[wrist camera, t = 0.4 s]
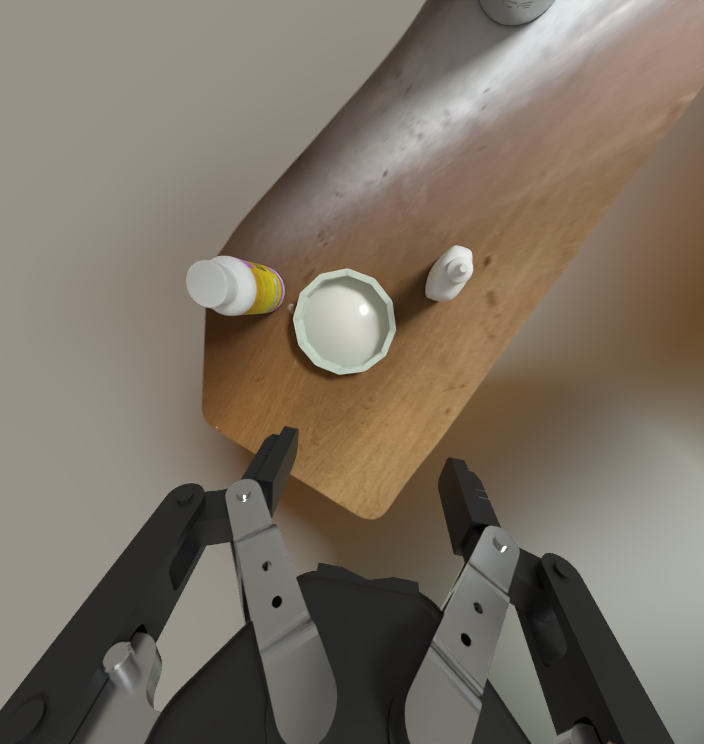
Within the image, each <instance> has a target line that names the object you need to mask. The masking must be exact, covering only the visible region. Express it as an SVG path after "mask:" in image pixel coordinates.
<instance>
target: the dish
mask: <svg viewBox="0 0 704 744" xmlns="http://www.w3.org/2000/svg"><path fill="white" fill-rule="evenodd" d="M293 322H294V327H295V331H296V336H297V340H298V345H299V346H300V348H301V349H302V350H303V351H304V352H305V353H306V355H307V356H308V357H309V358H310V359H311V361H312V362H313V363H314V364H315V365H316V366H319V367H321V368H324V369H326V370H329V371H331V372H334V373H336V374H339V375H341V374H349V373H357V372H364V371H366V370H367V369H369V368H370V367H371V366H373V365H374V364H375V363H376V362H378V361H379V360H380V359H382V358H383V357H384V356H386V353H387V351H388V349H389V346H390V344H391V341H392V339H393V337H394V334H395V332H396V325H395V317H394V309H393V302H392V300H391V299H390V298H389V296H388V295H387V294H386V293H385V291H384V290H383V289H382V287H381V286H380V285H379V284H378V282H377V281H376V280H375V279H374V278H372V277H369V276H366V275H364V274H361V273H359V272H356V271H353V270H351V269H348V268H347V269H343V270H338V271H333V272H328V273H323V274H320V275H319V276H318V277H317V278H316V279H315V280H314V281H313V282H311V283H310V284H309V285H308V286H307V287H306V288H305V289H304V290H303V291H302V292H301V293H300V296H299V300H298V303H297V307H296V310H295V313H294V317H293Z"/></svg>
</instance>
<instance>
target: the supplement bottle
mask: <svg viewBox="0 0 704 744" xmlns="http://www.w3.org/2000/svg"><path fill="white" fill-rule="evenodd" d="M186 285H187V289H188V292H189V294H190V296H191V297H192V298H193V300H194V301H195V302H196V303H198V304H199V305H201V306H203V307H207V308H212V309H213V310H215V311H216V312H218V313H220V314H223V315H227V316H236V315H247V314H261V313H269V312H272V311H274V310H276V309H277V308H278V307H279V306H280V305H281V303H282V301H283V299H284V295H285V289H284V284H283V281H282V279H281V277H280V276H279V275H278V273H277V272H276V271H274V270H273V269H271V268H269V267H266V266H263V265H260V264H256V263H253V262H249V261H245V260H242V259H238V258H234V257H231V256H218V257H215V258H213V259H211V260H209V261H208V260H201V261H198V262H195V263H194V264H193V265H192V266H191V267H190V269H189V270H188V273H187V276H186Z"/></svg>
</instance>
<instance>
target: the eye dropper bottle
mask: <svg viewBox="0 0 704 744" xmlns="http://www.w3.org/2000/svg"><path fill="white" fill-rule="evenodd" d="M472 273H473V264H472V252H471V251H470V250H469V249H467V248H465V247H461V246H453V247H451V248H450V249H449V250H448V251H447V252H445V253H444V254H443V255H442V256H441V257H440V258H439V259H438V260H437V261H436V263H435V264H434V265H433V267H432V269H431V270H430V273H429V275H428V278H427V281H426V288H425V294H426V297H427V298H429V299H432V300H435V301H450V300H452V299H453V298H454V297H455V296H456V295H457V294H458V293H459V292H460V291H461V289H462V288H463V286H464V285H465V283H466V281H467V280H468V279H469V278H470V277H471V275H472Z"/></svg>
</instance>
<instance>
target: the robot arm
mask: <svg viewBox="0 0 704 744" xmlns="http://www.w3.org/2000/svg"><path fill="white" fill-rule="evenodd" d="M479 1H480V4H481V6H482V8H483V9H484V11H485V13H486V14H487V15H488V16H489V17H490V18H492V19H493V20H494V21H496V22H498V23H500V24H504V25H520V24H523V23H526V22H529V21H531V20H533V19H535V18H536V17H538V16H540V15H541V14H542V13H543V12H544V11H546V10H547V9H548V8H549V7H550V6H551V5H552V4H553V2H554V1H555V0H479ZM298 434H299V429H298V428H292V427H287V426H284V428H283V430H282V431H281V433H280V435H275V434H272V435H270V436H269V437H268V438H266V439H265V440H264V442H263V444H262V445H261V447H260V449H259V450H258V452H257V454H256V455H255V457H254V459H253V460H252V462H251V464H250V466H249V467H248V469H247V470H246V472H245V474H244V475H243V477H242V479H241V480H239V481H237V482H235V483H233V484H232V485H231V486H230V487H229V488H228V489H224V490H218V491H208V492H204V490H203V488H202V486H200V485H198V484H193V483H190V484H184V485H181V486H179V487H177V488H175V489H174V490H172V491H171V492H170V493H169V494H168V495H167V496H166V497H165V499H164V500H163V501H162V503H161V504H160V505H159V507H158V508H157V509H156V510H155V512H154V513H153V514H152V515H151V517H150V518H149V520H148V521H147V522H146V523H145V525H144V526H143V527H142V528H141V530H140V531H139V532H138V534H137V535H136V536H135V537H134V539H133V540H132V541H131V543H130V544H129V545H128V547H127V548H126V549H125V550H124V552H123V553H122V554H121V555H120V557H119V558H118V559H117V561H116V562H115V563H114V565H113V566H112V567H111V568H110V570H109V571H108V572H107V574H106V575H105V576H104V577H103V579H102V580H101V582H100V583H99V584H98V585H97V587H96V588H95V589H94V590H93V592H92V593H91V594H90V595H89V597H88V598H87V599H86V601H85V602H84V603H83V605H82V606H81V607H80V608H79V610H78V611H77V612H76V614H75V615H74V616H73V617H72V619H71V620H70V621H69V623H68V624H67V625H66V626H65V628H64V629H63V630H62V632H61V633H60V634H59V635H58V637H57V638H56V639H55V641H54V642H53V643H52V644H51V646H50V647H49V648H48V650H47V651H46V652H45V654H44V655H43V656H42V658H41V659H40V660H39V661H38V663H37V664H36V665H35V666H34V668H33V669H32V670H31V672H30V673H29V674H28V675H27V677H26V678H25V679H24V681H23V682H22V683H21V684H20V686H19V687H18V688H17V690H16V691H15V692H14V693H13V695H12V696H11V698H10V699H9V700H8V701H7V703H6V704H5V705H4V706H3V708H2V709H1V710H0V744H531V742H530V741H529V740H528V738H527V737H526V735H525V734H524V732H523V731H522V729H521V728H520V726H519V725H518V723H517V722H516V720H515V719H514V717H513V716H512V714H511V713H510V711H509V710H508V708H507V707H506V705H505V704H504V702H503V701H502V700H501V698H500V696H499V695H498V693H497V692H496V690H495V689H494V687H493V686H492V684H491V683H490V681H489V680H488V678H487V676H488V673H489V669H490V666H491V663H492V659H493V656H494V653H495V649H496V646H497V643H498V639H499V636H500V632H501V629H502V626H503V622H504V619H505V615H506V612H507V609H508V605H509V603H511V604H513V605H514V606H515V608H516V611H517V614H518V617H519V620H520V623H521V626H522V630H523V632H524V636H525V639H526V641H527V645H528V648H529V651H530V654H531V657H532V660H533V663H534V666H535V669H536V672H537V675H538V678H539V681H540V684H541V687H542V691H543V693H544V697H545V700H546V703H547V706H548V709H549V712H550V715H551V718H552V721H553V724H554V727H555V730H556V733H557V736H556V737H555V738H554V740H553V744H674V742H673V740H672V738H671V736H670V735H669V733H668V731H667V729H666V728H665V726H664V724H663V722H662V720H661V719H660V717H659V715H658V713H657V712H656V710H655V708H654V706H653V704H652V702H651V701H650V699H649V697H648V695H647V694H646V692H645V690H644V688H643V686H642V685H641V683H640V681H639V679H638V677H637V676H636V674H635V672H634V670H633V669H632V667H631V665H630V663H629V662H628V660H627V658H626V656H625V654H624V652H623V651H622V649H621V647H620V645H619V644H618V642H617V640H616V638H615V636H614V635H613V633H612V631H611V629H610V628H609V626H608V624H607V622H606V620H605V619H604V617H603V615H602V613H601V611H600V610H599V608H598V606H597V604H596V602H595V601H594V599H593V597H592V595H591V593H590V592H589V590H588V588H587V586H586V584H585V583H584V581H583V579H582V578H581V576H580V574H579V573H578V572H577V570H576V569H575V568H574V567H573V566H572V565H571V564H570V563H569V562H568V561H567V560H565V559H564V558H562V557H560V556H558V555H556V554H553V553H547V554H544V555H543V556H542V558H539V557H537V556H535V555H533V554H531V553H529V552H527V551H525V550H523V549H521V548H519V547H518V545H517V543H516V541H515V540H514V539H513V537H512V536H511V535H510V534H508V533H507V532H506V531H504V530H503V529H501V527H500V524H499V522H498V520H497V517H496V515H495V513H494V510H493V508H492V506H491V503H490V501H489V500H488V496H487V494H486V492H485V489H484V487H483V485H482V482H481V480H480V479H479V478H478V477H477V476H476V475H475V473H474V472H470V471H469V470H468V468H467V465H466V463H465V461H464V460H461V459H456V458H450V457H449V458H448V459H447V460H446V463H445V465H444V468H443V470H442V472H441V475H440V477H439V482H438V489H439V494H440V498H441V502H442V506H443V511H444V515H445V519H446V523H447V528H448V532H449V535H450V540H451V544H452V549H453V553H454V554H455V555H459V556H463V558H464V562H465V563H464V564H463V566H462V568H461V570H460V572H459V574H458V576H457V578H456V580H455V582H454V584H453V586H452V588H451V590H450V592H449V594H448V596H447V598H446V600H445V602H444V604H443V605H442V607H441V609H440V608H439V607H438V606H437V605H436V604H435V603H434V602H433V601H432V600H430V599H429V598H428V597H427V596H425V595H424V594H422V593H420V592H419V587H418V582H414V581H410V580H404V579H400V578H395V577H392V578H384V579H374V580H367V579H365V578H363V577H361V576H359V575H357V574H355V573H353V572H351V571H349V570H347V569H345V568H343V567H339V566H333V565H328V564H323V563H319V564H318V568H317V571H311V572H307V573H304V574H302V575H299V576H298V577H296V576H295V573H294V571H293V568H292V565H291V563H290V560H289V557H288V554H287V551H286V548H285V545H284V542H283V540H282V537H281V534H280V531H279V529H278V527H277V525H274V524H273V522H272V519H271V518H272V517H273V515H274V512H275V510H276V507H277V504H278V502H279V500H280V497H281V494H282V492H283V489H284V487H285V484H286V482H287V479H288V477H289V474H290V472H291V469H292V467H293V464H294V462H295V459H296V454H297V447H298ZM227 542H230V546H231V551H232V555H233V561H234V566H235V571H236V576H237V582H238V588H239V595H240V601H241V607H242V612H243V617H244V622H245V626H243V627H242V628H241V629H240V631H238V632H237V633H236V634H235V636H233V637H232V638H231V639H230V640H229V641H228V642H227V643H226V644H225V645H224V646H223V647H222V648H221V649H220V650H219V651H218V652H217V653H216V654H215V655H214V656H213V657H212V658H211V659H210V660H209V661H208V662H207V663H206V664H205V665H204V666H203V667H202V668H201V669H200V670H199V671H198V672H197V673H196V674H195V675H194V676H193V677H192V678H191V679H190V680H189V681H188V682H187V683H186V684H185V685H184V686H183V687H182V688H181V689H180V690H179V691H178V692H177V693H176V694H175V695H174V696H173V697H172V699H171V700H170V701H169V702H168V704H167V705H166V706H165V708H164V709H163V711H162V712H159V711H156V710H154V704H153V703H154V694H155V690H156V687H157V684H158V681H159V679H160V675H161V671H162V659H161V656H160V654H159V651H158V649H157V646H156V642H157V640H158V638H159V636H160V634H161V632H162V630H163V628H164V626H165V625H166V622H167V621H168V619H169V617H170V615H171V613H172V611H173V609H174V607H175V605H176V603H177V601H178V599H179V597H180V596H181V594H182V592H183V590H184V588H185V586H186V584H187V582H188V580H189V578H190V576H191V574H192V572H193V570H194V568H195V567H196V565H197V562H198V561H199V559H200V557H201V555H202V553H203V551H204V549H205V547H206V546H207V545H213V544H220V543H227Z"/></svg>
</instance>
